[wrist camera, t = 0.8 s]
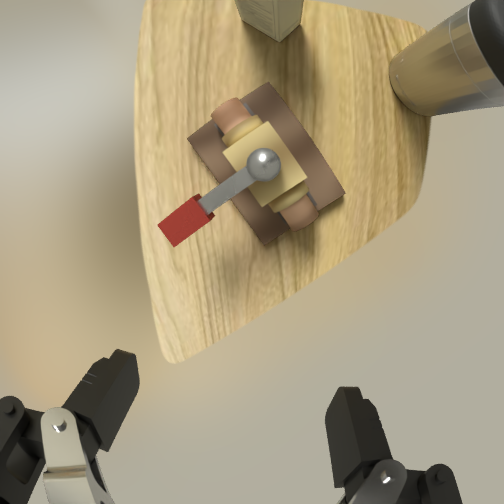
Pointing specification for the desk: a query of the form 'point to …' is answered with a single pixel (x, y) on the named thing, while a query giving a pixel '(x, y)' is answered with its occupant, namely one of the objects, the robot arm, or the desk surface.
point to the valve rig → (287, 148)
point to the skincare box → (271, 16)
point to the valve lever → (219, 196)
